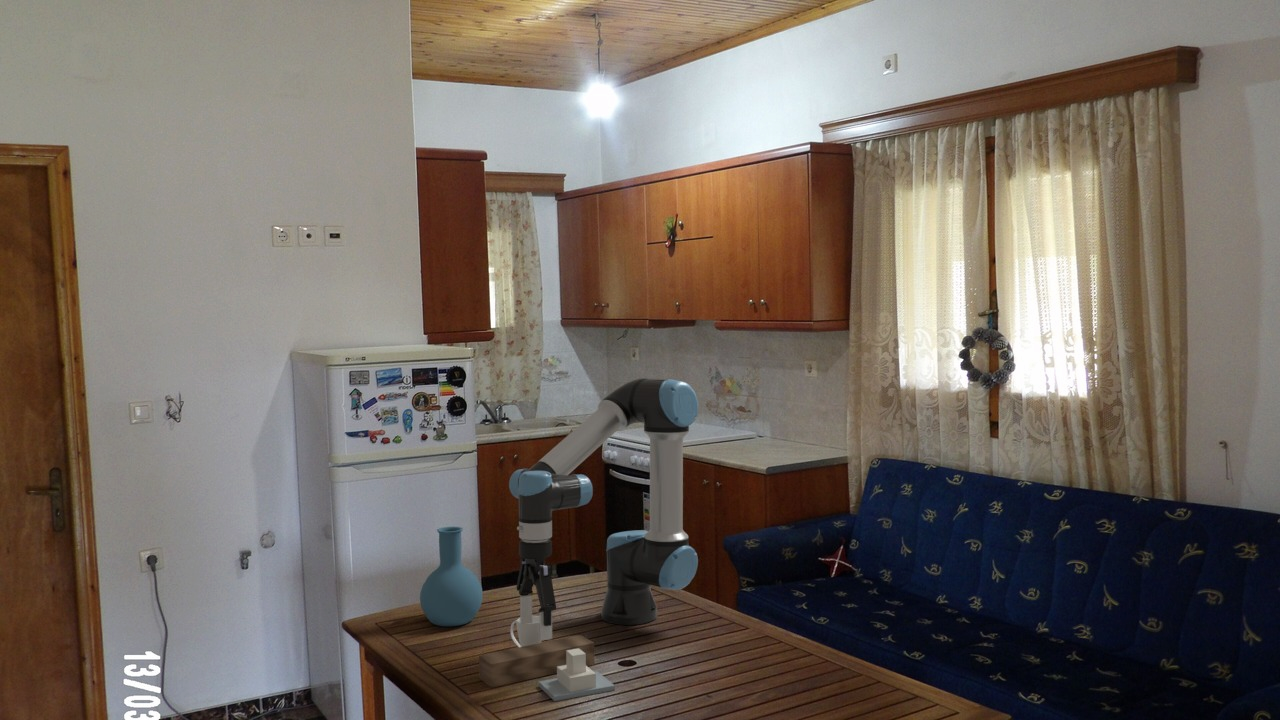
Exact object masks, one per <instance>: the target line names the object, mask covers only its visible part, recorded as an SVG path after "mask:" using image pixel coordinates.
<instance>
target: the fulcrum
mask: <svg viewBox="0 0 1280 720" xmlns="http://www.w3.org/2000/svg"><path fill="white" fill-rule="evenodd" d="M538 687H539V688H540V689H541V690H542V691H543V692H544V693H545V694H546V695H547V696H548V697H550V699H552V700H553V701H554V702H557V701H563V700H568V699H573V698H574V699H575V698H580V697H585V696H590V695H595V694H600V693H605V692H611V691H615V690H616V685H615V684H614V683H613V682H611V681H610V680H608V679H607V678H606V677H605V676H604V675H603V674H601V673H600V672H599V671H597V670H596V671H594V670H592V669H591V668H590V667H589V666H586V654H585V653H584V652H583V651H582V650H580V649H579V648H578V649H572V650H566V665H563V666H557V673H556V678H555V677H554V678H551V679H545V680H539V681H538Z"/></svg>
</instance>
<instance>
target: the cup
mask: <svg viewBox="0 0 1280 720" xmlns="http://www.w3.org/2000/svg"><path fill="white" fill-rule="evenodd" d="M515 624H516V625H515ZM514 626H515V627H516V630H517V637H518V640H519V642H518V640H517V639H516V637H515V634H514ZM509 629H510V632H509V633H510V638H511V640H512V641H513V643H514V644H515V645H516V646H517V648H518V647H523V646H528V645H533V644H538V643H542V641H543V640H540V615H532V623H527V624H520V617H518V618H517V619H516V620H514V621H512V622H511V624H510V628H509Z"/></svg>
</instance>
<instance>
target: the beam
mask: <svg viewBox="0 0 1280 720" xmlns="http://www.w3.org/2000/svg"><path fill="white" fill-rule="evenodd" d="M578 648H579V649H580V650H582V651H583V652H584V653H585V654H586V666H587V667H590V666H594V665H595V642H594V641H592V640H590V639H588V638H586V636H585V637H584V636H582V635H581V634H578V635H573V636H567V637H563V638H559V639H558V638H557V639H552V640H549V641H544V642H541V643H538V644H533V645H528V646H523V647H518V646H517V647H515V648H508V649H504V650H500V651H495V652H490V653H485V654H484V653H483V654H479V655H478V677H479V678H478V679H480V680H481V681H483V682H484V683H486V685H488V686H489V687H491V688H495V687H496V688H497V687H500V686H504V685H508V684H514V683H519V682H523V681H526V680H531V679H535V678H540V677H545V676H548V675H549V676H550V675H554V674H557V666H563V665H566V650H572V649H578Z"/></svg>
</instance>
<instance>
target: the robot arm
mask: <svg viewBox="0 0 1280 720" xmlns="http://www.w3.org/2000/svg"><path fill="white" fill-rule="evenodd" d="M698 413H699V400H698V397H697V394H696V392H695V390H694V389H693V388H692V386H691V385H690V384H689V383H687V382H685V381H681V380H676V379H660V378H659V379H654V378H653V379H652V378H637V379H634V380H631V381H628V382H626V383H624V384H623V385H621V386H619V387H618V388H616V389H615V390H613V391H612V392H611V393H609V394H608V395H607V396H606V397H604V398H603V399H602V400H601V401H600V402H599V403H598V404H597V410H596V411H594V412H593V413H592V414H591V415H590V416H588V417H587V418H586V419H585V420H584V421H582V422H581V424H579V425H577V427H576V428H575V429H574V430H573V431H571V432H570V433H569V434H568V435H566V436H565V437H564V438H563V439H562V440H561V441H560V442H559V443H557V444H556V445H555V446H553V448H552V449H551V450H550V451H548V453H546V454H545V455H544V456H543V457H541V459H539V460H538V461H537V462H536V463H535V464H533V465H532V466H531V467H530V468H522V469H520V468H519V469H517V470H515V471H514V472H513V473H512V474H511V476H510V479H509V482H508V487H509V491H510V493H511V495H512V496H513V497H514V498H516V499H518V526H517V527H516V530H517V531H518V538H519V539H520V540H519V541H518V556H519V557H520V566H519V572H518V577H517V583H516V590H517V591H518V594H519V605H520V606H519V610H520V611H519V616H520V624H527V623H532V616H533V594H534V591H533V586H535V588H536V593H537V597H538V601H539V605H540V606H539V607H540V608H539V609H538V613H539V616H540V640H542V641H545V640H546V641H547V640H553V611H556V610H557V603H556V597H555V590H554V587H553V579H552V567H551V565H546V558H547V559H548V558H550V557H551V556H552V554H553V541H552V540H551V538H552V537H553V520H552V519H553V517H552V515H553V512H554V511H559V510H565V509H566V510H567V509H571V508H578V507H582V506H584V505H587V504H588V503H590V501H591V500H592V498H593V494H594V493H593V492H594V491H593V490H594V489H593V483H592V482H591V481H592V480H591V479H590V478H589V477H588V476H587V475H585V474H575V473H573V474H571V473H572V472H573V471H574V470H575V469H576V468H578V466H580V465H581V464H582V463H583V462H584V461H585V460H586V459H588V457H590V456H591V455H592V454H593V453H594V452H595V451H597V449H598V448H600V447H601V446H602V445H603V444H604V443H605V442H606V441H607V440H609V439H610V438H611V437H612V436H614V434H615V433H616V432H622V431H624V430H625V429H627V428H628V427H629V426H630V425H633V424H637V423H642V424H643V432H644V433H645V435H647V436H648V438H649V530H645V529H641V530H637V529H636V530H626V531H620V532H615V533H612V534H610V535H609V536H608V537H607V539H606V549H605V552H606V577H607V578H606V580H607V584H606V585H607V588H606V593H605V596H604V598H603V599H604V600H603V602H602V606H601V610H600V611H601V613H600V614H601V617H600V618H601V619H602V621H604V622H606V623H609V624H613V625H620V626H621V625H622V626H623V625H624V626H629V625H630V626H633V625H641V624H642V625H643V624H647V623H650V622H652V620H653V621H654V620H656V619H657V617H658V607H657V604H656V601H655V598H654V596H653V595H654V594H653V592H652V590H651V586H653V587H658V588H662V589H663V590H672V591H679V590H682V589H684V588H686V587H687V586H688V585H689V584H690V583H691V582H692V580H693V579H694V577H695V575H696V573H697V570H698V565H699V558H698V553H697V552H696V550H695V548H693V547H692V546H690V545H689V535H688V534H687V532H685V531H684V529H683V528H684V526H683V523H684V521H683V519H684V517H683V513H684V510H683V507H684V506H683V505H684V503H683V501H684V492H683V491H684V490H683V489H684V482H683V479H684V478H683V477H684V466H683V464H684V437H685V436H687V434H688V433H689V432H690V430H689V429H690V426H691V425H692V424H693V423H694V422H695V421H696V417H698Z"/></svg>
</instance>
